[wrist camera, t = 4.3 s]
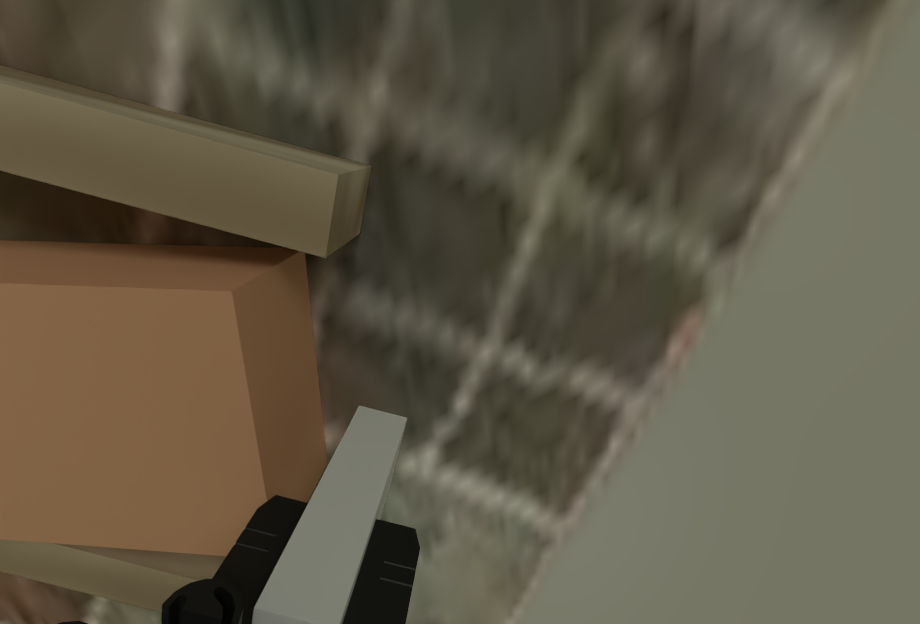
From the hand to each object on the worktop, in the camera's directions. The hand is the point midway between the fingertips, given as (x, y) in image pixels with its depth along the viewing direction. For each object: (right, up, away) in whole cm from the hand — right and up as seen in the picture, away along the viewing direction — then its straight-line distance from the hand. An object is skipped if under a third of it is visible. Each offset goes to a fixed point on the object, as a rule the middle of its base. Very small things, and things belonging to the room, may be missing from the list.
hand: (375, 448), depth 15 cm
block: (-7, +3, +2) cm, 8 cm away
